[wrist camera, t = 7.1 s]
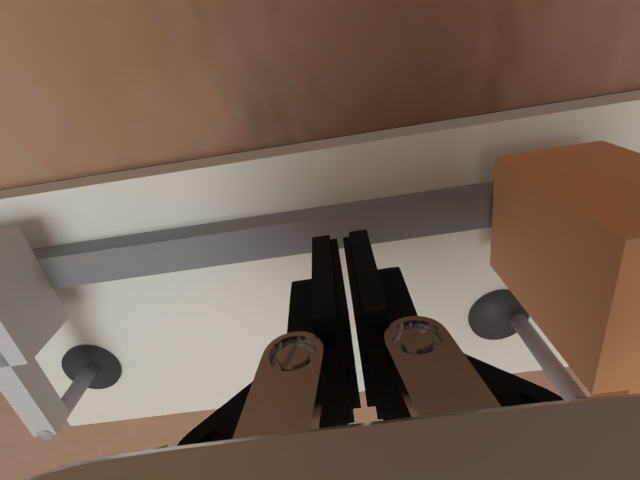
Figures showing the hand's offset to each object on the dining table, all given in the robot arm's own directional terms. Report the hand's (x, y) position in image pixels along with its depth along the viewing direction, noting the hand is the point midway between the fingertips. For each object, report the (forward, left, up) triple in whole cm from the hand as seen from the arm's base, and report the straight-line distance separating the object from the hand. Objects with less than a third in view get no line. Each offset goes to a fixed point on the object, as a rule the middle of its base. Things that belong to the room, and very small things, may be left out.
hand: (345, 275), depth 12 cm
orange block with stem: (+2, +8, -4) cm, 9 cm away
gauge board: (+4, -1, -6) cm, 7 cm away
